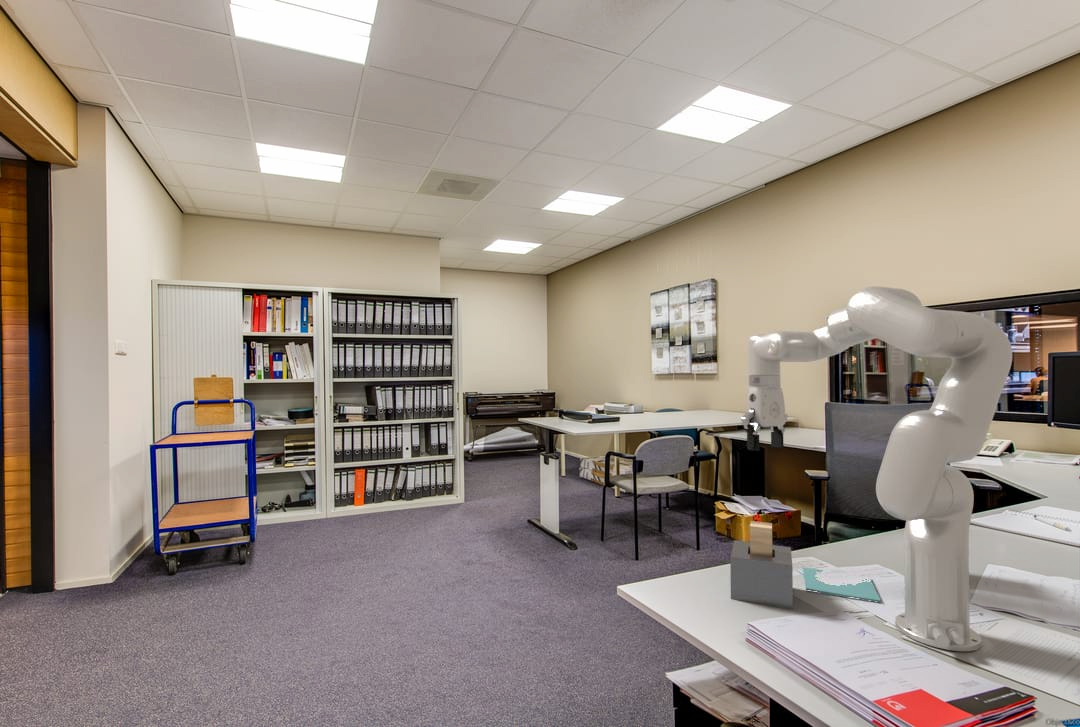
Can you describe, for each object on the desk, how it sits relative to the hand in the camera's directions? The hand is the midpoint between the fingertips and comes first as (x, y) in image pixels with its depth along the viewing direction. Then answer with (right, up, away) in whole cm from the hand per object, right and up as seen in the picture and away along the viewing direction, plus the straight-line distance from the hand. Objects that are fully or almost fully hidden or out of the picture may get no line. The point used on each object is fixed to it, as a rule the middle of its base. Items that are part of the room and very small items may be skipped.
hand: (765, 448), depth 131 cm
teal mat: (+10, -29, -14) cm, 34 cm away
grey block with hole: (-9, -29, -18) cm, 35 cm away
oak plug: (-9, -25, -18) cm, 32 cm away
